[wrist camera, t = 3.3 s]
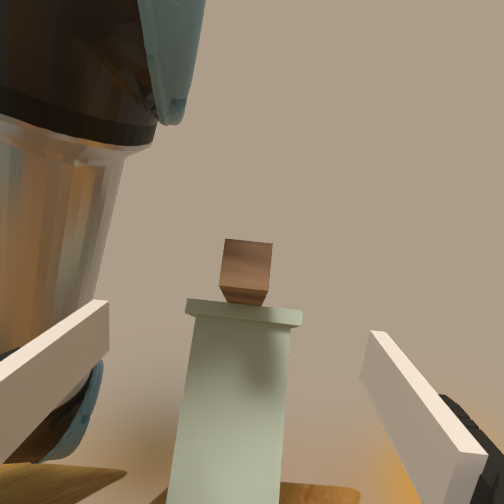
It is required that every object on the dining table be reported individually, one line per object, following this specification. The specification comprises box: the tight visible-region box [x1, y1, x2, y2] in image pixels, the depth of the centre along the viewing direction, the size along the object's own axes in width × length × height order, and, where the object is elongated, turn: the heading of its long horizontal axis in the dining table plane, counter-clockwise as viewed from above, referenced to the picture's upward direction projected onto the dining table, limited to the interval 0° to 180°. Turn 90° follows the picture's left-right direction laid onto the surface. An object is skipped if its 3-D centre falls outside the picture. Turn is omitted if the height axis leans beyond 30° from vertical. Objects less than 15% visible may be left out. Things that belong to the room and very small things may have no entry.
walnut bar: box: [219, 239, 273, 306], centre depth 33 cm, size 26×4×4 cm, turn 1°
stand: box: [166, 298, 303, 504], centre depth 31 cm, size 14×14×30 cm
